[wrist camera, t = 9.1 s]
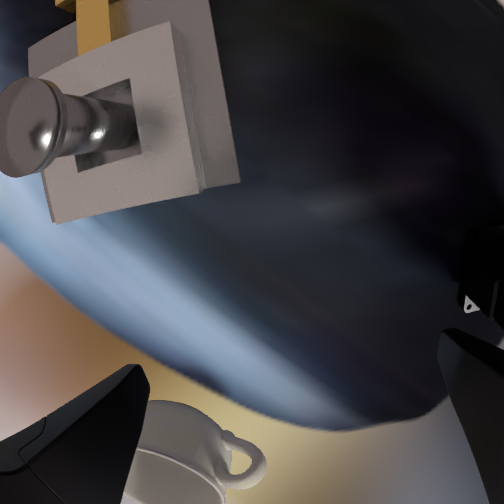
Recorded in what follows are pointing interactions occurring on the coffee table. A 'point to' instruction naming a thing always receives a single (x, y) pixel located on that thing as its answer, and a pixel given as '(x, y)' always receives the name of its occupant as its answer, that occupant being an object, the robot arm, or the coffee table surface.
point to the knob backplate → (140, 103)
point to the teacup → (187, 458)
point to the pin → (56, 126)
